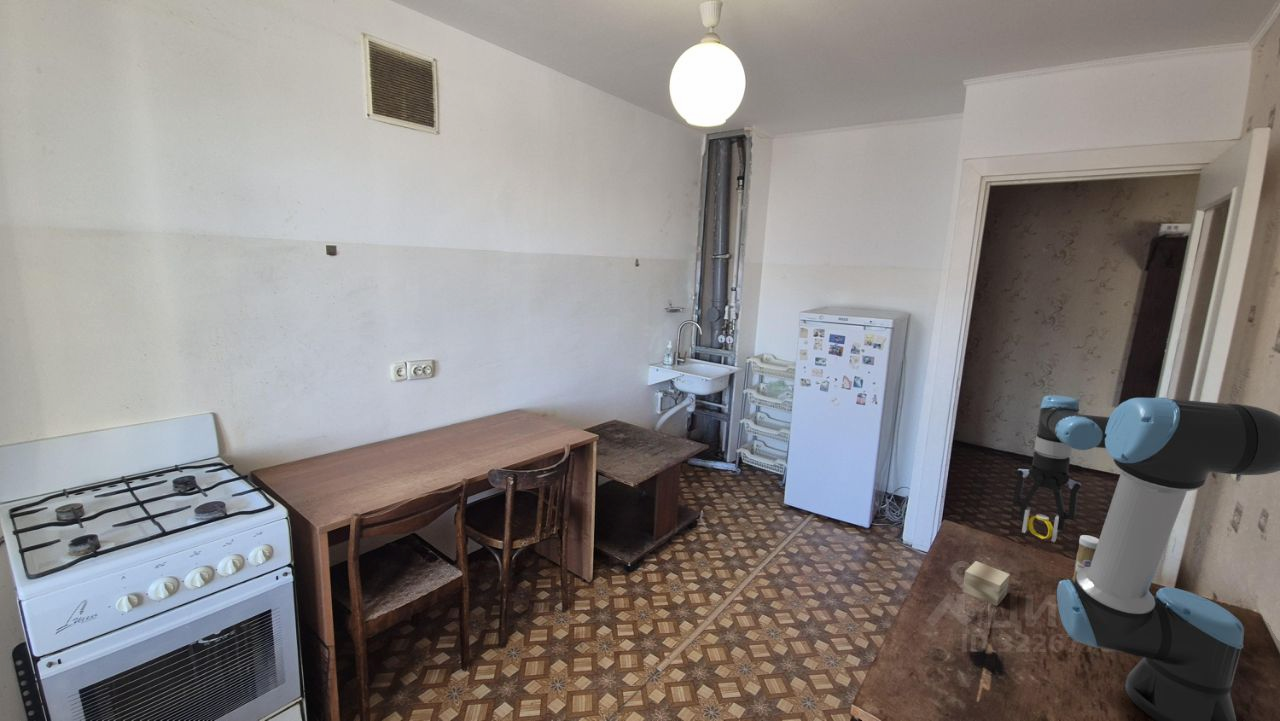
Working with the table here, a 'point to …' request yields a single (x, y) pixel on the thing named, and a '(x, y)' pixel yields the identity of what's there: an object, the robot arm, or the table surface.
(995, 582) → the maple block
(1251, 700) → the table surface
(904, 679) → the table surface
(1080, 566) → the sprinkles bottle
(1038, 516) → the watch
